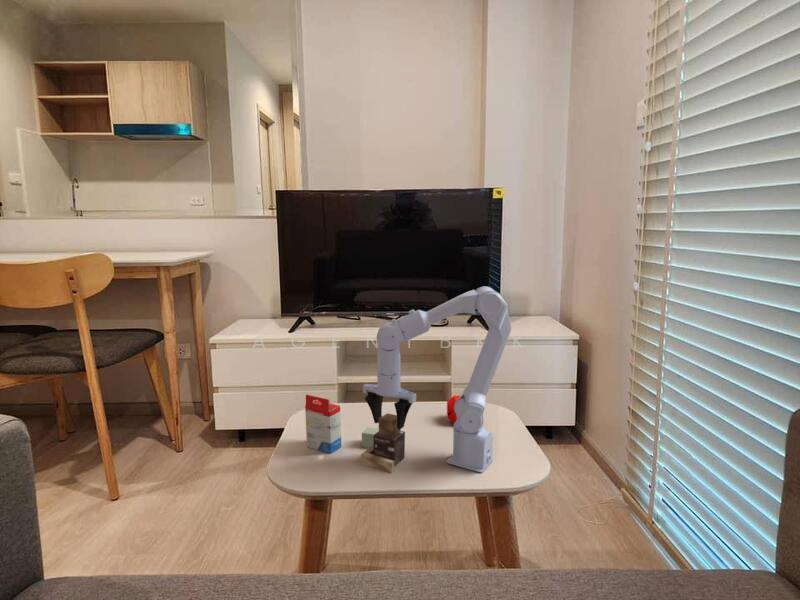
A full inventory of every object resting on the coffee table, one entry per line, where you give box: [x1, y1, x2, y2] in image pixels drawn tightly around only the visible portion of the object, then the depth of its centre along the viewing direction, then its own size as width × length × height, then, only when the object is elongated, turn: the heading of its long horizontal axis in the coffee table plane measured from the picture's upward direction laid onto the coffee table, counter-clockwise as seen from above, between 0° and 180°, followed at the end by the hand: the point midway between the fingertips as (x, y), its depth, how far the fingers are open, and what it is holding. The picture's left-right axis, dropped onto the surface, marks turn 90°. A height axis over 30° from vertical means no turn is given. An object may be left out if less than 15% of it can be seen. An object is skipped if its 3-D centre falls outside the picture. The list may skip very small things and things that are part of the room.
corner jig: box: [360, 446, 395, 474], centre depth 120 cm, size 9×9×2 cm
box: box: [373, 430, 406, 468], centre depth 120 cm, size 6×6×7 cm
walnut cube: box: [378, 413, 402, 437], centre depth 119 cm, size 4×4×4 cm
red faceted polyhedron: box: [446, 395, 461, 424], centre depth 144 cm, size 8×8×8 cm
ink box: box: [304, 394, 342, 454], centre depth 127 cm, size 8×5×15 cm, turn 59°
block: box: [361, 426, 379, 449], centre depth 129 cm, size 4×4×4 cm
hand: (389, 424), depth 119 cm, fingers open, 6 cm apart
